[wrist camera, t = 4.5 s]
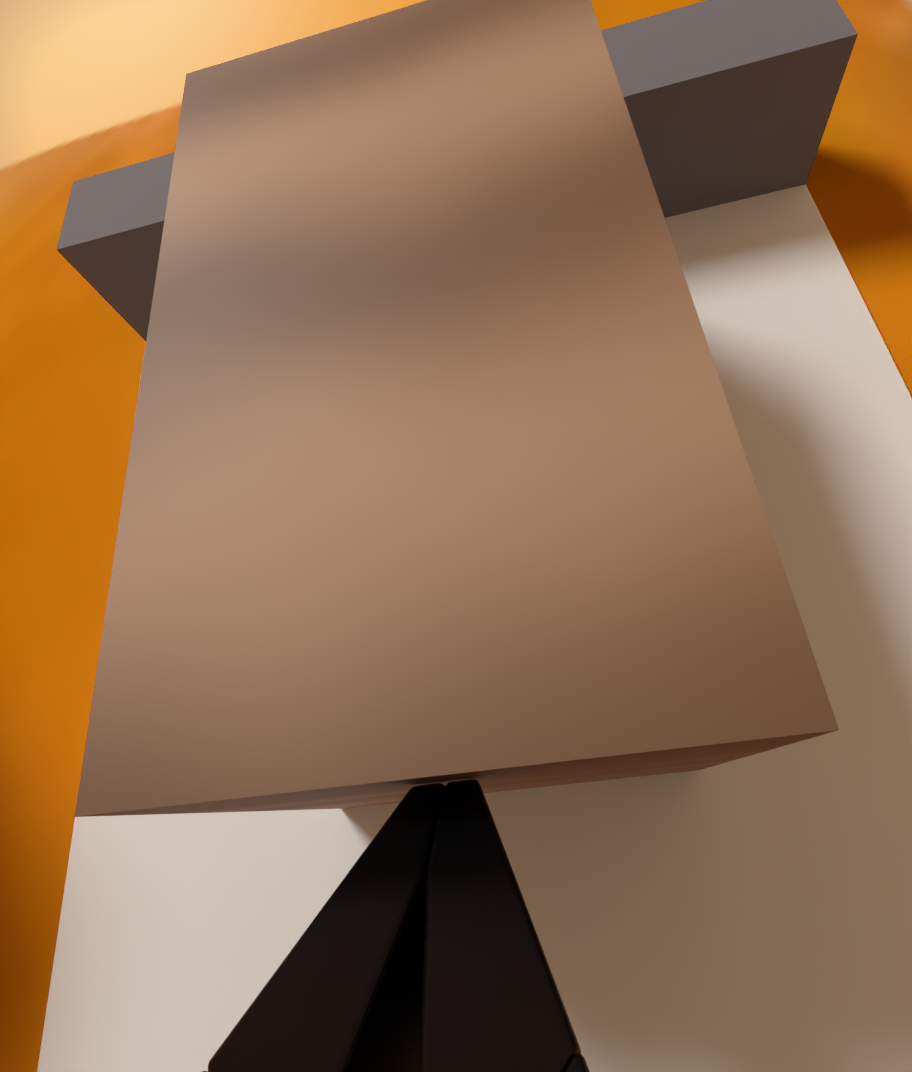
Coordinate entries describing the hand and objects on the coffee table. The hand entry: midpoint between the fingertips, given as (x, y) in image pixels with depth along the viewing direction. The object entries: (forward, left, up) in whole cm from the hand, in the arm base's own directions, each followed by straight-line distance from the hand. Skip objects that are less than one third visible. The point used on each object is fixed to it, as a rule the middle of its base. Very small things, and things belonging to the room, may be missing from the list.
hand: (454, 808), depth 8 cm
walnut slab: (+6, -4, -6) cm, 10 cm away
